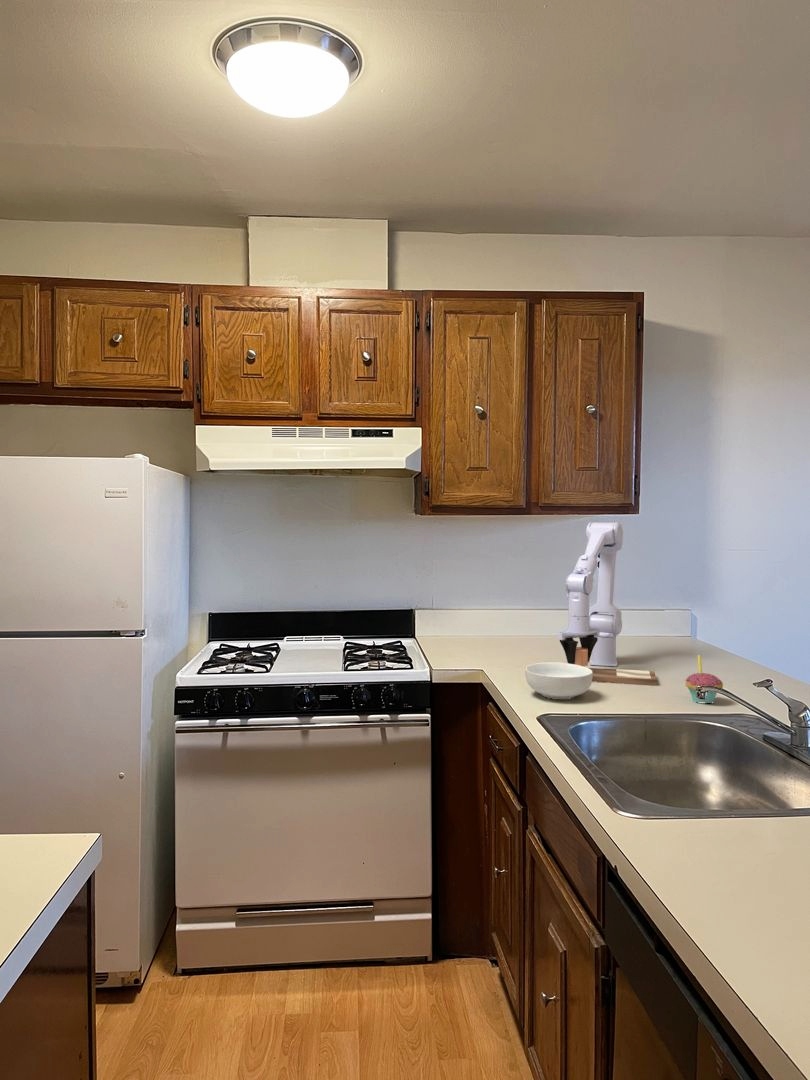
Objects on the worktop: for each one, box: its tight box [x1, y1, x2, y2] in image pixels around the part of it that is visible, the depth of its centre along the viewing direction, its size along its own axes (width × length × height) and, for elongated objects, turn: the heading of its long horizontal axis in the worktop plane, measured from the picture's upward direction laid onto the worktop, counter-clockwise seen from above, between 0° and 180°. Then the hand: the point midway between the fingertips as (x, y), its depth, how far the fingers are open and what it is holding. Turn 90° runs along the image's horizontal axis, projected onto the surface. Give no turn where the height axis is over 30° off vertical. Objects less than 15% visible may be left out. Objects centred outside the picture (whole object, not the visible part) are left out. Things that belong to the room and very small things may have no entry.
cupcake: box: [685, 652, 724, 704], centre depth 178 cm, size 9×8×12 cm
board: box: [588, 667, 658, 687], centre depth 203 cm, size 11×28×8 cm, turn 74°
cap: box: [574, 646, 589, 667], centre depth 205 cm, size 5×5×5 cm
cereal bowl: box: [524, 661, 593, 700], centre depth 183 cm, size 17×17×7 cm
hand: (578, 662), depth 205 cm, fingers closed on cap, 5 cm apart
